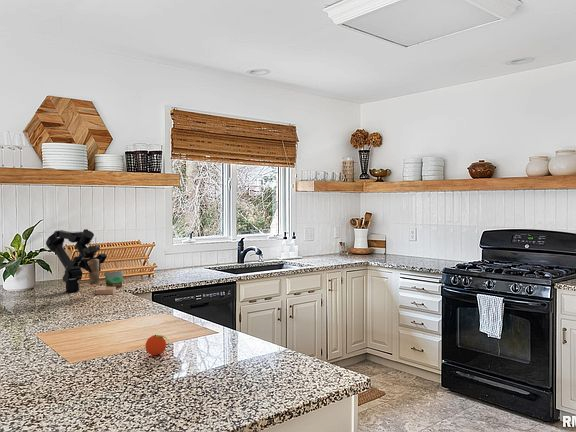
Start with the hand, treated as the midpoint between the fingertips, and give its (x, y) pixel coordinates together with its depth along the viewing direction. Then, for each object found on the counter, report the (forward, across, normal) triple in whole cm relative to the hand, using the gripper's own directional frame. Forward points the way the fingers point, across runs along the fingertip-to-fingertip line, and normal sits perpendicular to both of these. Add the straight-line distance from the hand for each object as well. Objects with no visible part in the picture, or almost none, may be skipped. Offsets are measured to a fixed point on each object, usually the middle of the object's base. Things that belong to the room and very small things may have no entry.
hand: (95, 271), depth 273 cm
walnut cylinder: (+4, 0, +6) cm, 7 cm away
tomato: (+86, -45, -67) cm, 118 cm away
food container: (+1, +21, +19) cm, 28 cm away
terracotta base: (+6, +9, +13) cm, 17 cm away
